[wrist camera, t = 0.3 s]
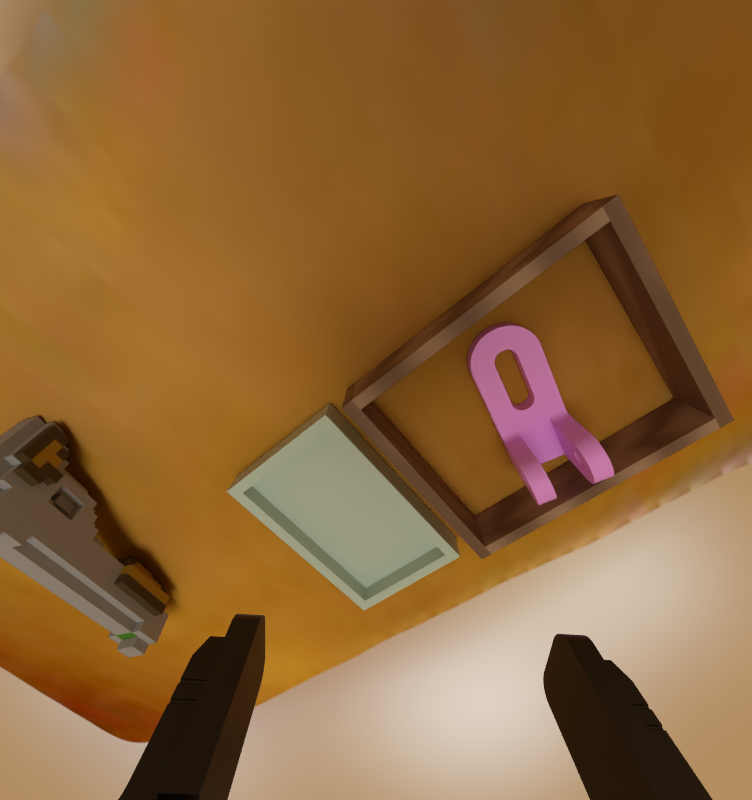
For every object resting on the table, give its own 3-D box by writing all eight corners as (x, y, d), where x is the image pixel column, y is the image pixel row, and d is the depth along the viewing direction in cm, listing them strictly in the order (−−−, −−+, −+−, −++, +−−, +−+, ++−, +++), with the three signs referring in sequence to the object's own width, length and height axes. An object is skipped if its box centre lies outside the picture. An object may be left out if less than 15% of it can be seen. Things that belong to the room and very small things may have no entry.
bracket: (572, 439, 32) (619, 486, 26) (513, 464, 33) (544, 515, 27) (521, 309, 28) (562, 325, 21) (456, 343, 29) (475, 368, 23)
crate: (583, 203, 25) (618, 194, 21) (691, 400, 30) (733, 420, 26) (347, 389, 31) (341, 407, 27) (471, 527, 36) (481, 559, 32)
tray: (329, 402, 31) (325, 414, 29) (455, 537, 36) (460, 556, 34) (237, 475, 34) (226, 491, 32) (365, 589, 39) (363, 610, 37)
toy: (55, 411, 32) (-57, 498, 23) (198, 560, 44) (159, 651, 36) (4, 425, 32) (-122, 515, 24) (159, 568, 45) (112, 660, 37)
